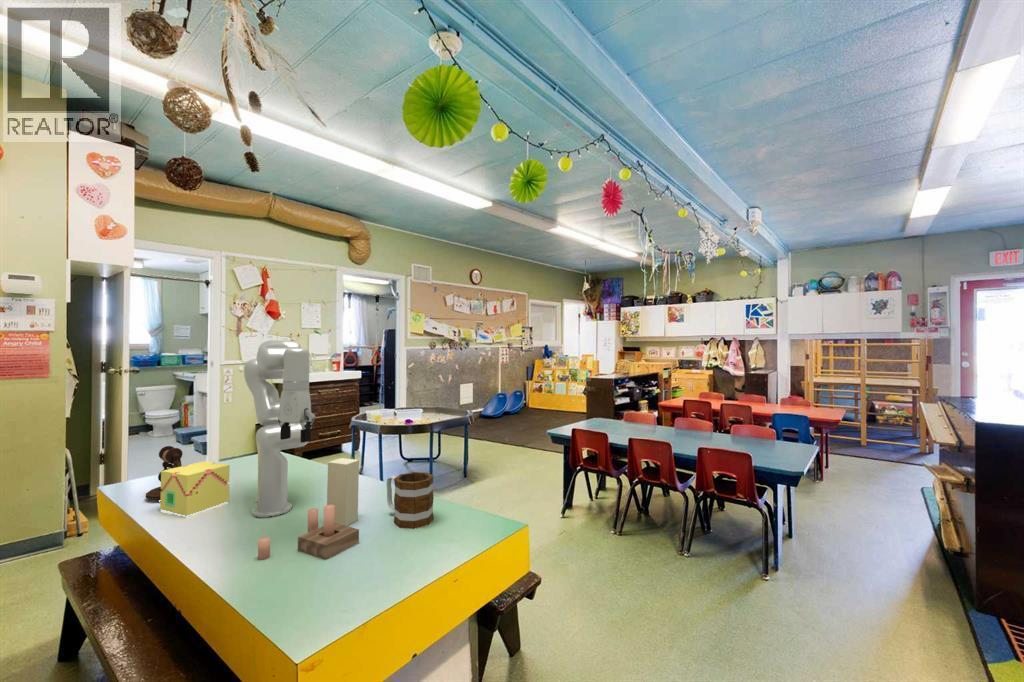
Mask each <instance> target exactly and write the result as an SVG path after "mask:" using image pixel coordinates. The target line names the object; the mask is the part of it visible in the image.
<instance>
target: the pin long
mask: <svg viewBox="0 0 1024 682" xmlns="http://www.w3.org/2000/svg"><path fill="white" fill-rule="evenodd" d="M334 524H335V505H327V504H326V505H324V506H323V526H324V536H325V537H330V536H332V535H334Z"/></svg>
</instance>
